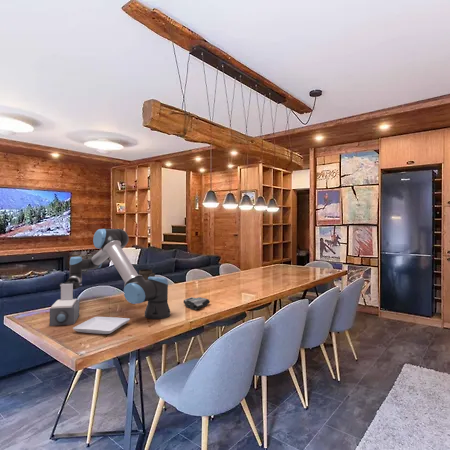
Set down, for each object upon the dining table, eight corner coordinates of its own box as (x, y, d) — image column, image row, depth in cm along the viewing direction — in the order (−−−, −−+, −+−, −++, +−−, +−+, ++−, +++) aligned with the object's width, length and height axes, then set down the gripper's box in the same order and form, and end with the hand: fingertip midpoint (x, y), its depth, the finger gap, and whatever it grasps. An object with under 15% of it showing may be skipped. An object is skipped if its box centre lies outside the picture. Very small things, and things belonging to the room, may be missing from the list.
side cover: (71, 307, 174) (72, 288, 174) (51, 308, 171) (51, 289, 171) (76, 300, 189) (76, 283, 189) (57, 301, 187) (58, 284, 187)
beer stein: (134, 296, 243) (135, 269, 242) (142, 293, 253) (144, 268, 252) (151, 299, 237) (153, 272, 237) (159, 296, 247) (161, 270, 247)
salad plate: (71, 334, 161) (71, 327, 161) (95, 321, 182) (95, 315, 182) (110, 337, 157) (110, 330, 157) (130, 324, 178) (130, 318, 178)
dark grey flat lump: (211, 304, 223) (211, 297, 223) (198, 311, 204) (198, 303, 204) (189, 302, 229) (189, 295, 229) (175, 309, 209) (175, 301, 209)
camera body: (73, 325, 173) (73, 308, 173) (48, 327, 170) (48, 309, 170) (79, 314, 193) (79, 299, 193) (56, 316, 190) (57, 300, 189)
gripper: (83, 287, 212) (78, 295, 189) (61, 288, 208) (53, 297, 186) (84, 276, 212) (78, 283, 189) (62, 277, 208) (53, 283, 186)
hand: (65, 290), depth 188 cm, fingers closed
